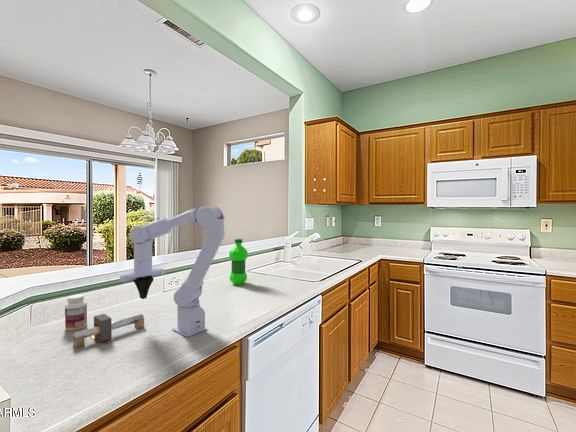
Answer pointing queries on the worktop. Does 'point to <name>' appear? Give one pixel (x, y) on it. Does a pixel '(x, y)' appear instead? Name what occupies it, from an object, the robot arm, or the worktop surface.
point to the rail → (136, 320)
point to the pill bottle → (75, 312)
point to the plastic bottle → (238, 263)
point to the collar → (103, 327)
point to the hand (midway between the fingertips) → (143, 298)
